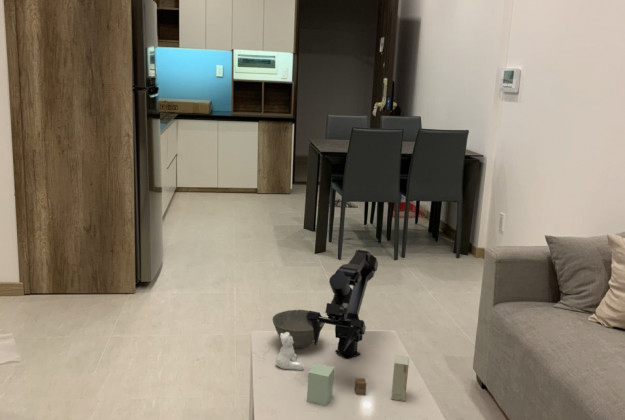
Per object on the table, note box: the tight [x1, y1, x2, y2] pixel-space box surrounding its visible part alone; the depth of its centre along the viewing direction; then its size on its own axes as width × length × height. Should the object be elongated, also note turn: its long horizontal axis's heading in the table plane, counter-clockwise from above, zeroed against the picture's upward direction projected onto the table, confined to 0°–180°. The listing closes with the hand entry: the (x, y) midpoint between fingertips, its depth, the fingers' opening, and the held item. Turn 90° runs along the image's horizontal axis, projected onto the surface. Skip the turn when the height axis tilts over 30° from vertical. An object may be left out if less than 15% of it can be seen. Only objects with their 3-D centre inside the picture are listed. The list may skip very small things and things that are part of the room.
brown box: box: [354, 377, 367, 396], centre depth 194 cm, size 3×3×4 cm
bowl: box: [272, 309, 326, 349], centre depth 223 cm, size 19×19×10 cm
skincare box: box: [390, 354, 410, 402], centre depth 192 cm, size 6×4×12 cm
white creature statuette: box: [275, 332, 305, 371], centre depth 207 cm, size 10×9×12 cm
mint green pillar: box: [306, 363, 335, 407], centre depth 188 cm, size 6×6×10 cm
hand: (329, 347), depth 193 cm, fingers open, 9 cm apart
